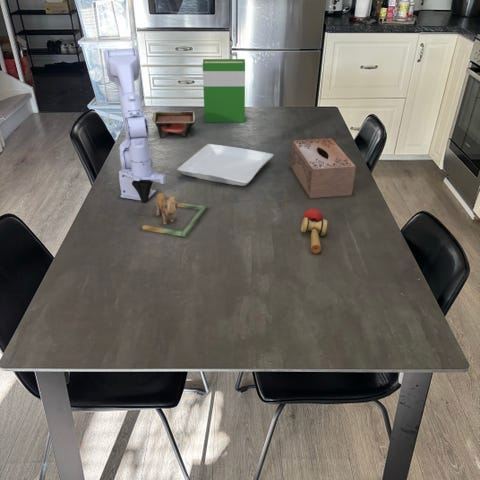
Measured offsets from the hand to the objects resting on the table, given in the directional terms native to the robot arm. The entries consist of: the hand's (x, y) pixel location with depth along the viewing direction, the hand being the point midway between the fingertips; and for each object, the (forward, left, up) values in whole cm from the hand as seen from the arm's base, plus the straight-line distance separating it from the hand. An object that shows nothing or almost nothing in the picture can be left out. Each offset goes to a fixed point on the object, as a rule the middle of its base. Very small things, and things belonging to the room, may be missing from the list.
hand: (145, 201), depth 165 cm
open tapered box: (-20, +70, -5) cm, 73 cm away
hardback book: (-6, +93, -5) cm, 93 cm away
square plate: (+13, +40, -5) cm, 42 cm away
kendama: (+53, +2, -5) cm, 53 cm away
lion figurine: (+7, 0, -5) cm, 8 cm away
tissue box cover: (+47, +42, -5) cm, 63 cm away
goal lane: (+10, 0, -4) cm, 11 cm away
